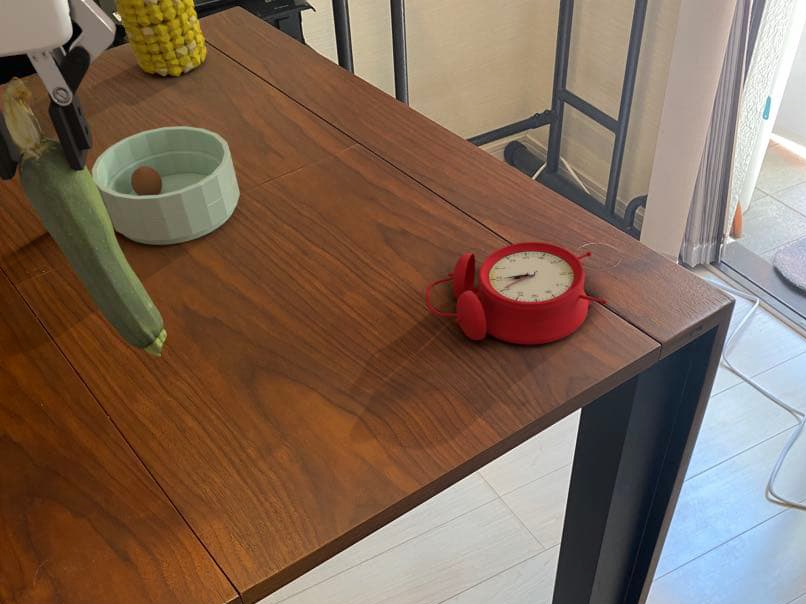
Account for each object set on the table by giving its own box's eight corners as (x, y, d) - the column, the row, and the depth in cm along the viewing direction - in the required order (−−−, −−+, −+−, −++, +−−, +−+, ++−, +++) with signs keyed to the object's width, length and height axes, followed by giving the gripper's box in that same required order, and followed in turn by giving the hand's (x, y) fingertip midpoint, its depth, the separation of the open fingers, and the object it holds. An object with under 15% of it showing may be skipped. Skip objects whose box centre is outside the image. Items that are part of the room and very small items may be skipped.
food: (222, 65, 115) (175, 102, 111) (154, 31, 117) (105, 65, 113) (211, -55, 102) (157, -20, 97) (135, -92, 104) (78, -59, 99)
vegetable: (119, 366, 65) (-52, 104, 50) (147, 330, 67) (-9, 70, 52) (165, 366, 63) (2, 95, 48) (192, 329, 65) (43, 60, 51)
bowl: (83, 221, 91) (63, 173, 86) (179, 162, 97) (165, 114, 93) (171, 263, 85) (155, 213, 80) (267, 197, 91) (257, 148, 87)
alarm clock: (616, 306, 70) (441, 288, 68) (591, 363, 75) (427, 348, 73) (592, 235, 77) (431, 216, 74) (571, 292, 82) (419, 276, 79)
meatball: (169, 199, 92) (147, 190, 93) (168, 168, 90) (146, 160, 91) (147, 205, 89) (125, 196, 90) (145, 173, 87) (123, 165, 88)
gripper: (74, -247, 42) (177, 120, 56) (-261, -208, 42) (-71, 152, 56) (55, -211, 37) (172, 178, 52) (-323, -167, 37) (-98, 213, 52)
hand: (45, 161), depth 54 cm, fingers closed on vegetable, 3 cm apart
